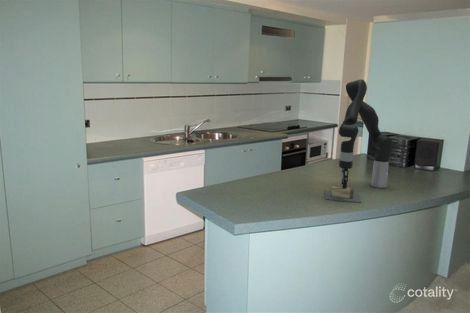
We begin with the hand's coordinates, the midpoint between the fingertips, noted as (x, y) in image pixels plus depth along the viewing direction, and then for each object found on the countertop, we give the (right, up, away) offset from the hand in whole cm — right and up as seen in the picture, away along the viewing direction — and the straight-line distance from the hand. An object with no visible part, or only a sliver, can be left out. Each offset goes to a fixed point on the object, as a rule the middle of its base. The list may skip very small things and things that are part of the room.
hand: (343, 186), depth 237 cm
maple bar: (-1, -6, +2) cm, 6 cm away
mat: (-1, -7, +2) cm, 7 cm away
